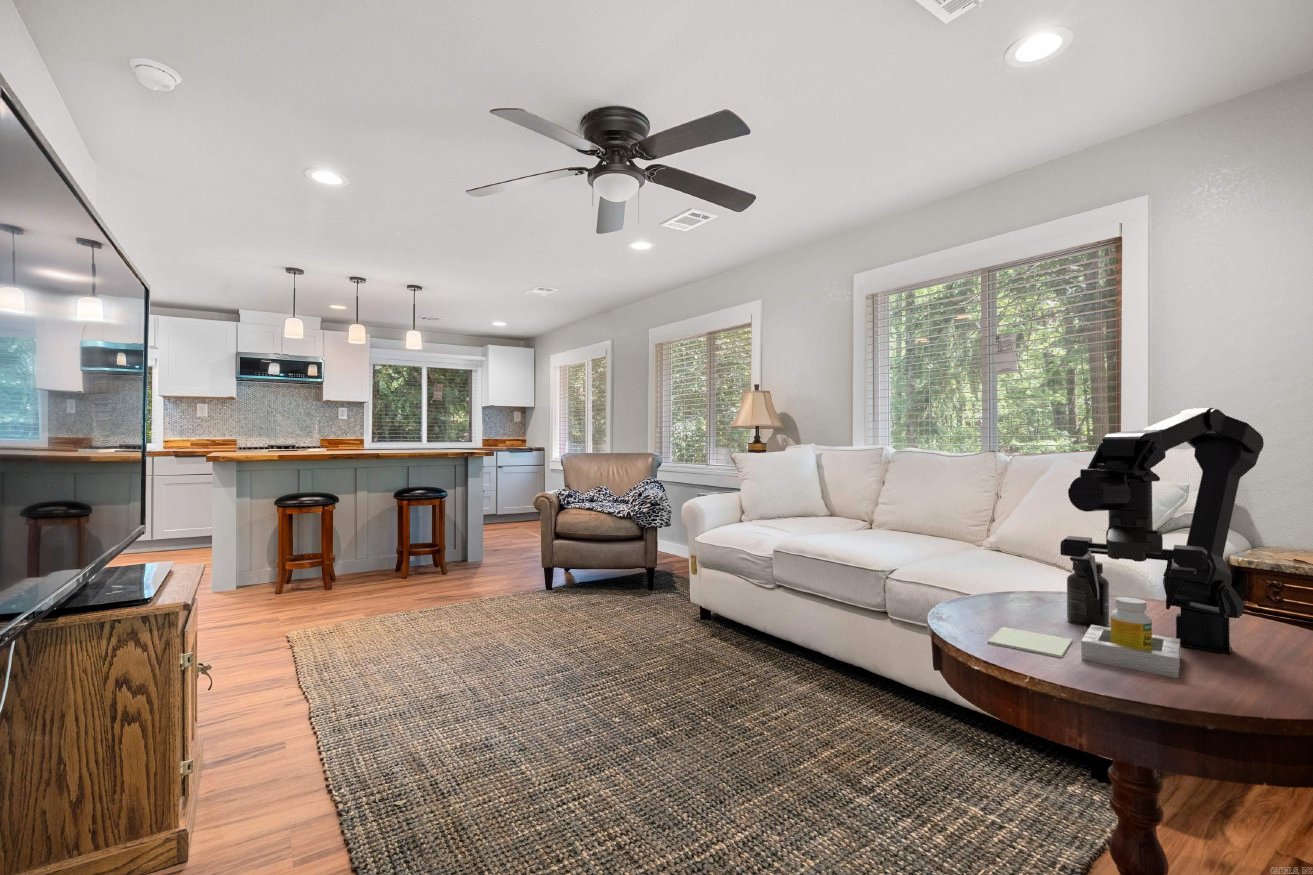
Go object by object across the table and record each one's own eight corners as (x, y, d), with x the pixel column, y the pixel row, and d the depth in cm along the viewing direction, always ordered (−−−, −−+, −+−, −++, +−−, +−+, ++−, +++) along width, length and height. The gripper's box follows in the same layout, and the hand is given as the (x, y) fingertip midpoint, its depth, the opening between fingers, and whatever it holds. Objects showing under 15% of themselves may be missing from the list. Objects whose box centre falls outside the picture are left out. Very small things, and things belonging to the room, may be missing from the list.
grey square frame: (1180, 657, 100) (1180, 638, 100) (1178, 678, 91) (1178, 658, 91) (1091, 641, 108) (1091, 624, 108) (1081, 659, 99) (1081, 640, 99)
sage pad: (1072, 641, 107) (1072, 639, 107) (1061, 657, 99) (1061, 655, 99) (1002, 628, 115) (1002, 626, 115) (987, 643, 107) (987, 640, 107)
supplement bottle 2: (1114, 650, 103) (1113, 594, 103) (1154, 658, 99) (1154, 599, 99) (1107, 658, 99) (1107, 599, 99) (1149, 666, 95) (1149, 606, 95)
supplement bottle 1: (1117, 629, 115) (1116, 566, 115) (1076, 627, 116) (1076, 564, 116) (1098, 619, 121) (1097, 559, 121) (1060, 617, 123) (1060, 558, 123)
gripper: (1054, 509, 100) (1055, 603, 100) (1206, 518, 87) (1208, 626, 87) (1065, 504, 108) (1066, 591, 108) (1206, 511, 95) (1207, 610, 95)
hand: (1131, 603), depth 99 cm, fingers open, 9 cm apart
